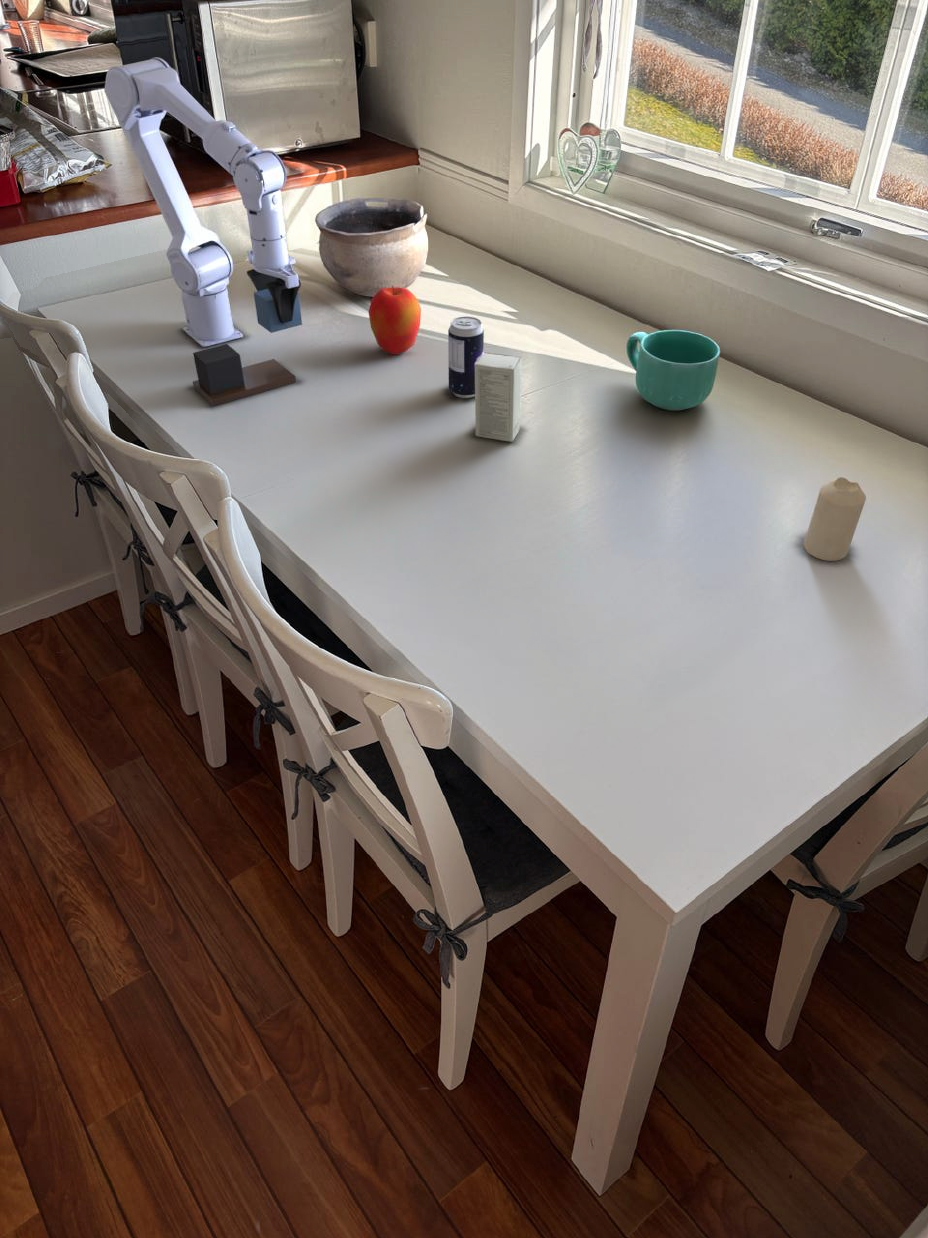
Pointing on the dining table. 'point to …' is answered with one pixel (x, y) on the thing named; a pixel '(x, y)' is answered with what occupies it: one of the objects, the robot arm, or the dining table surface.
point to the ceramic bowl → (373, 243)
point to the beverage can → (464, 354)
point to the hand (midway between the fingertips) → (278, 316)
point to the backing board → (252, 382)
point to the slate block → (274, 312)
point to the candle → (834, 519)
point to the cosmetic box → (497, 396)
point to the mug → (673, 367)
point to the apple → (395, 319)
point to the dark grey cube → (219, 369)
